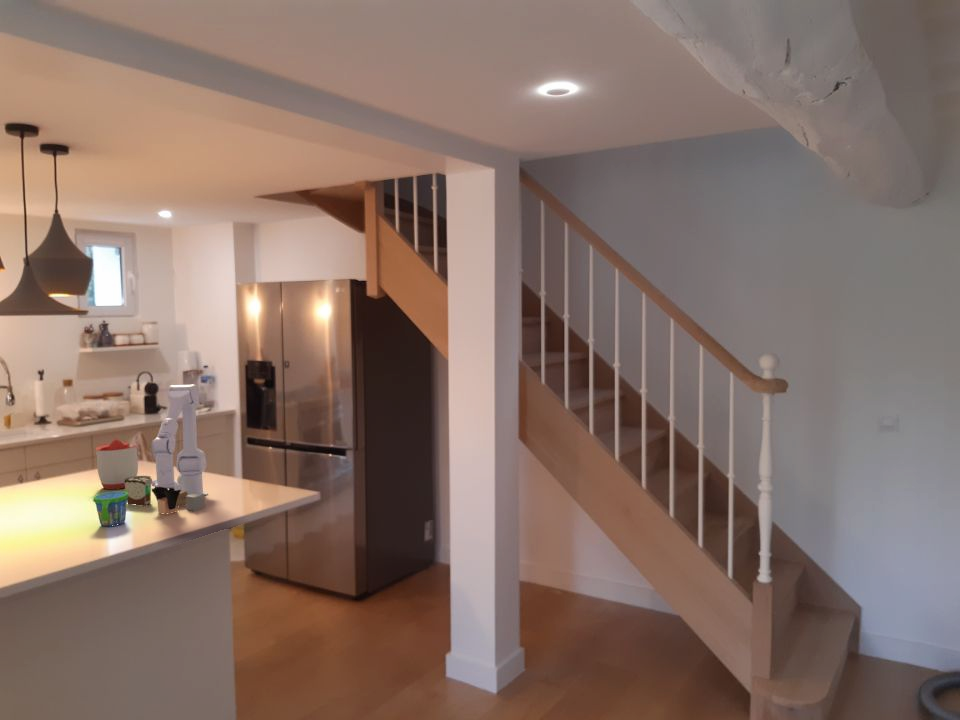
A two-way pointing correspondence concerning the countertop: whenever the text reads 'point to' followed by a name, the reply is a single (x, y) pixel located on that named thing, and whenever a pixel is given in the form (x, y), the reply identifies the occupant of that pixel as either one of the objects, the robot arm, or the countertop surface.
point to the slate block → (195, 501)
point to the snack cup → (111, 507)
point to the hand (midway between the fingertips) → (167, 507)
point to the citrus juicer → (116, 463)
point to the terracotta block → (164, 506)
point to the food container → (138, 489)
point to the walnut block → (182, 498)
